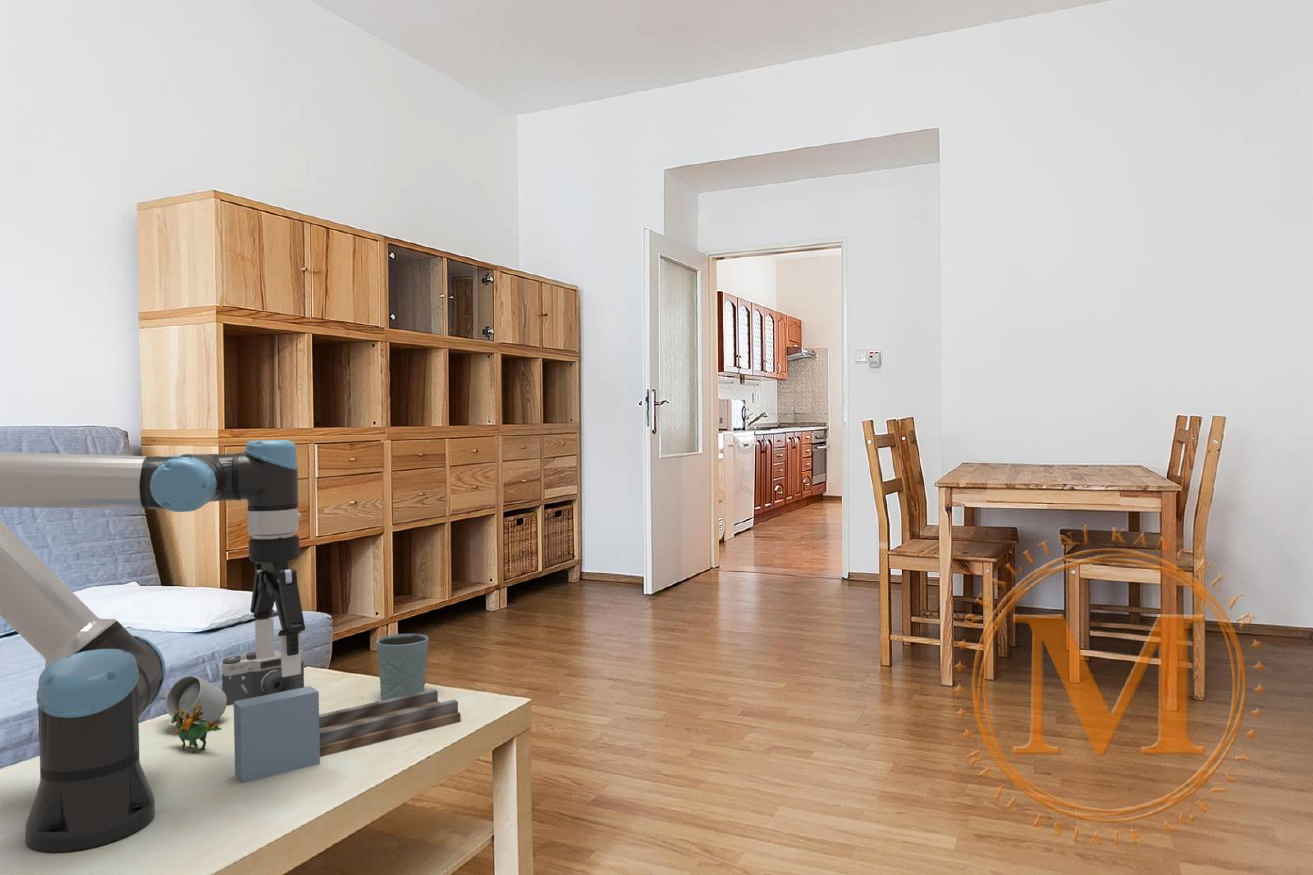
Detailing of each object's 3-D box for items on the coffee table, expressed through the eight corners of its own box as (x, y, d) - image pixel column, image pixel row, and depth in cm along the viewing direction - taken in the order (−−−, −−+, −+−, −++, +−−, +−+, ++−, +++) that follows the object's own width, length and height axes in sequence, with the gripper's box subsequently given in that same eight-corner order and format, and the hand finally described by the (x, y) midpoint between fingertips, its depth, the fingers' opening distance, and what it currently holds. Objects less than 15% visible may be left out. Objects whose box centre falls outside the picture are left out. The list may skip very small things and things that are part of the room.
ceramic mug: (210, 735, 162) (238, 699, 164) (177, 724, 156) (207, 687, 158) (182, 705, 168) (209, 671, 170) (148, 694, 161) (178, 658, 163)
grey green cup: (368, 704, 174) (367, 644, 174) (390, 688, 184) (390, 632, 184) (416, 706, 173) (415, 645, 172) (436, 690, 183) (435, 633, 182)
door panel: (242, 784, 136) (240, 707, 136) (235, 776, 139) (233, 701, 139) (319, 764, 144) (318, 691, 144) (311, 757, 147) (310, 686, 147)
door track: (319, 756, 147) (319, 736, 147) (296, 737, 156) (296, 717, 156) (460, 721, 164) (460, 702, 164) (432, 705, 173) (431, 688, 173)
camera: (235, 715, 168) (233, 664, 168) (220, 703, 176) (218, 654, 176) (316, 697, 179) (315, 649, 179) (299, 686, 186) (298, 640, 186)
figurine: (180, 743, 154) (179, 697, 153) (229, 753, 149) (228, 706, 149) (164, 750, 151) (163, 703, 151) (214, 760, 146) (213, 711, 146)
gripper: (324, 540, 134) (328, 677, 134) (274, 526, 153) (278, 647, 153) (273, 545, 129) (277, 688, 129) (228, 530, 148) (232, 655, 149)
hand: (277, 666), depth 141 cm, fingers open, 13 cm apart
